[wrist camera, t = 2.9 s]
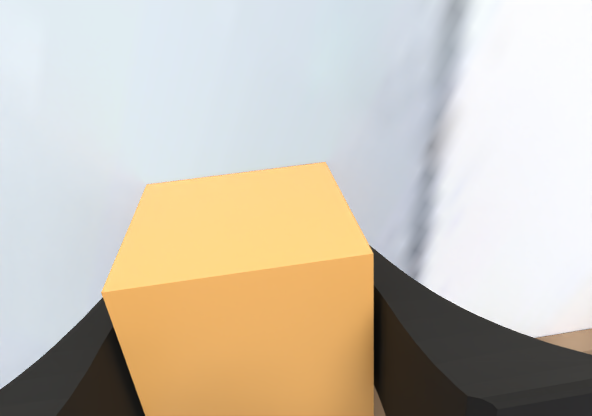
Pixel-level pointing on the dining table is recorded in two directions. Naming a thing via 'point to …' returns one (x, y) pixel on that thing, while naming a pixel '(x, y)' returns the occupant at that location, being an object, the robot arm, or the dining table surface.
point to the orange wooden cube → (246, 297)
